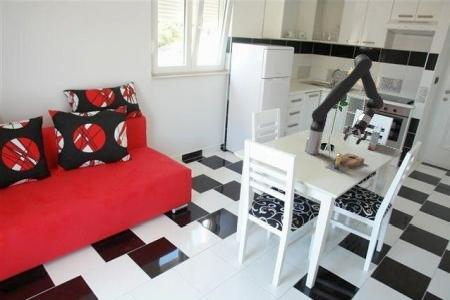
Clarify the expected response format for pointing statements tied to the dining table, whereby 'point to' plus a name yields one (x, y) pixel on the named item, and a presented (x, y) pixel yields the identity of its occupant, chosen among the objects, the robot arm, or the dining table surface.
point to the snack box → (374, 138)
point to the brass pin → (338, 161)
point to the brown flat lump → (351, 160)
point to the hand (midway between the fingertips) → (350, 141)
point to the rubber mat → (331, 167)
